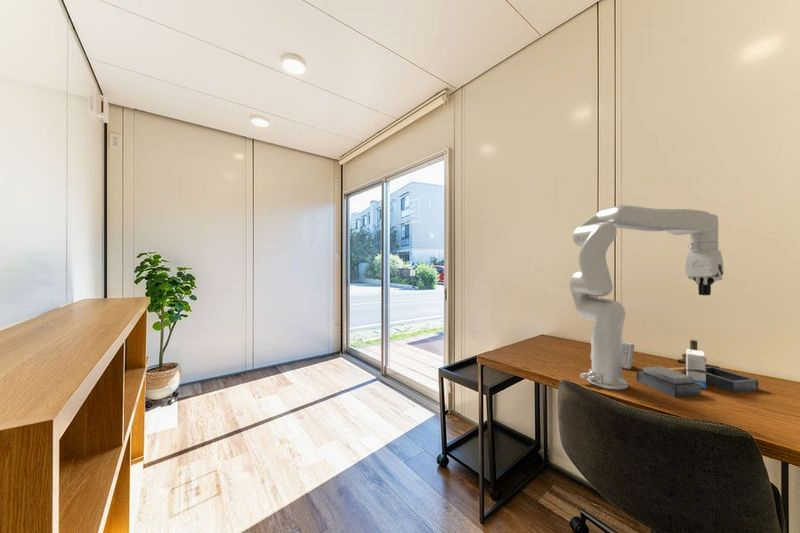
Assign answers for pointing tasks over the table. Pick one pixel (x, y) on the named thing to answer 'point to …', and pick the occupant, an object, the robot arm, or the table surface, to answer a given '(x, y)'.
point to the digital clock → (626, 355)
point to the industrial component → (693, 347)
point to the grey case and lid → (683, 385)
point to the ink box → (696, 366)
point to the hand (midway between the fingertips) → (704, 294)
